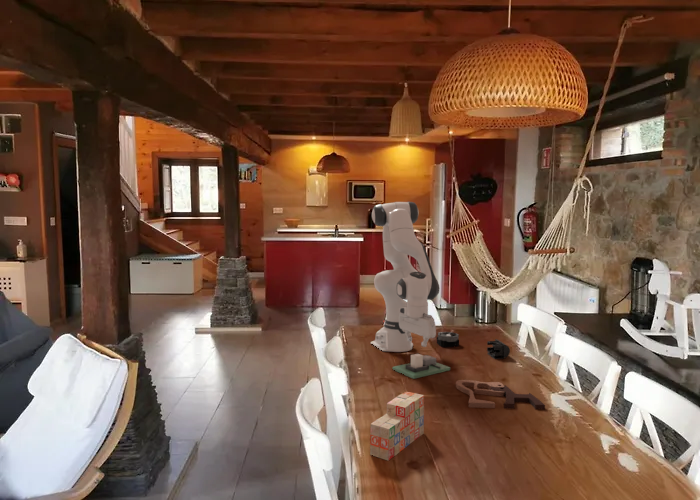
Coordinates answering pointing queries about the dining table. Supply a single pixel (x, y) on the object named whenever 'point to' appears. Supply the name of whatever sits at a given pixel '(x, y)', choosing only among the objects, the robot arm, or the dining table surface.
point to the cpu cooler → (448, 339)
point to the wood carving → (495, 394)
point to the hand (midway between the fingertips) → (416, 343)
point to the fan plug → (416, 360)
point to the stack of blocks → (397, 426)
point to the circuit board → (422, 368)
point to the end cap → (498, 349)
